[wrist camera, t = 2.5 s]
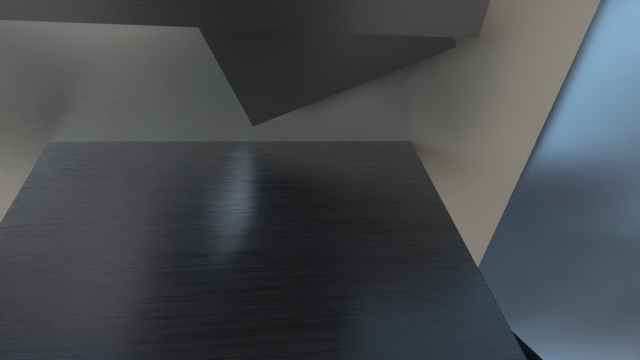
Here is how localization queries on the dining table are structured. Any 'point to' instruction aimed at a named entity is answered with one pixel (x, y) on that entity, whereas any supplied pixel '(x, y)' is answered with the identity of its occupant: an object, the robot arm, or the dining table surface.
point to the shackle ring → (240, 256)
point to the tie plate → (295, 81)
